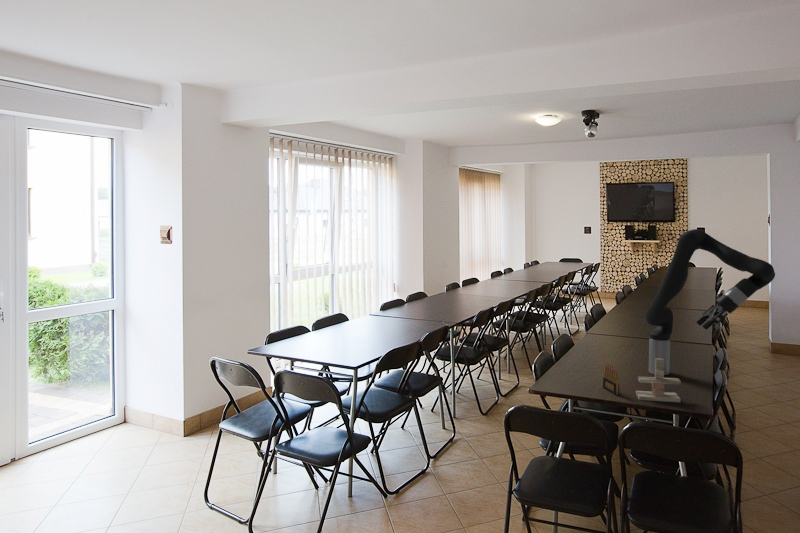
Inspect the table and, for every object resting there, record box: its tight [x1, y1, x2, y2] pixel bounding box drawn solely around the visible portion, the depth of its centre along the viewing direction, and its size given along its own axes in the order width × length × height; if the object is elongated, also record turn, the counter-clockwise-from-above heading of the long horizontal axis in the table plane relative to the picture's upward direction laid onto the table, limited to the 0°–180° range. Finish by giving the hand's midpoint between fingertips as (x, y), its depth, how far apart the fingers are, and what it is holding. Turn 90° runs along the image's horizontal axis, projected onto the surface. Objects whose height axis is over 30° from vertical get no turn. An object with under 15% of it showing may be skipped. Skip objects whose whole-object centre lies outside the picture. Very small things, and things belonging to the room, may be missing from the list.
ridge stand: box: [635, 383, 682, 403], centre depth 234 cm, size 8×16×7 cm, turn 77°
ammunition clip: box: [602, 362, 620, 396], centre depth 244 cm, size 11×2×12 cm, turn 9°
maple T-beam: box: [637, 358, 682, 386], centre depth 233 cm, size 4×16×10 cm, turn 76°
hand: (700, 325), depth 233 cm, fingers open, 8 cm apart
